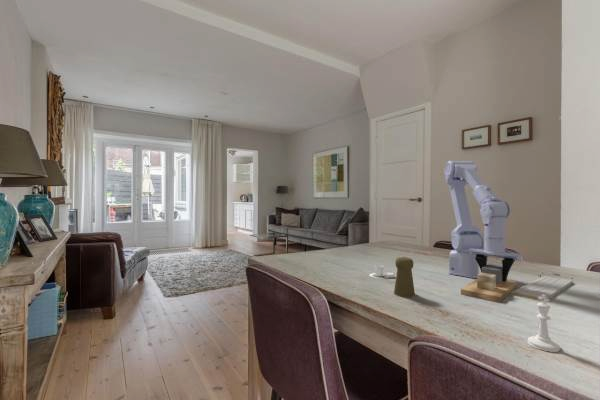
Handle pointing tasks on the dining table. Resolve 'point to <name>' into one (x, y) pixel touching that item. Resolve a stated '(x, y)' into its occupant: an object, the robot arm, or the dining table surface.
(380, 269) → the teacup and saucer
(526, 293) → the baseboard
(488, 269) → the block
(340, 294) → the dining table surface
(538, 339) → the chess piece
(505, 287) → the board
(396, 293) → the cork
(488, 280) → the beige cube
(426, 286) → the dining table surface
